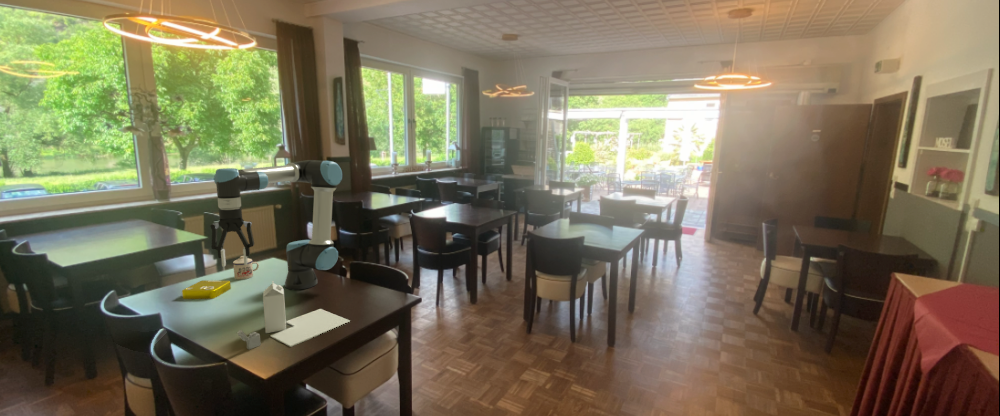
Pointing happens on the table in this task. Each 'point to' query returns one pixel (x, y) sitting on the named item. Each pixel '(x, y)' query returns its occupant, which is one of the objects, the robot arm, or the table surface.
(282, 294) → the milk carton
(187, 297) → the element tile
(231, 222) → the robot arm
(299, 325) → the mat
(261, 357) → the table surface
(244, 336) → the lighter
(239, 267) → the teacup with lid
